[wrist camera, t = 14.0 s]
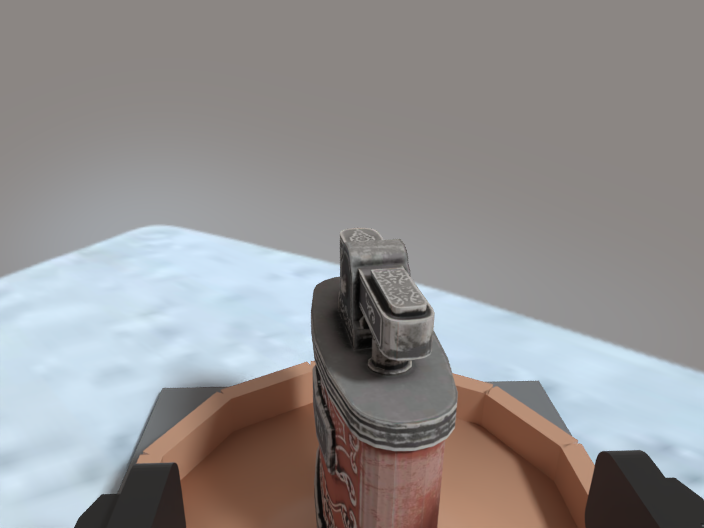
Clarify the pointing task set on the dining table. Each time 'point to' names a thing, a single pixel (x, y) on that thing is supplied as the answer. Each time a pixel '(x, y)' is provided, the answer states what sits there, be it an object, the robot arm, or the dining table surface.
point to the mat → (185, 400)
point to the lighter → (378, 392)
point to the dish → (301, 445)
